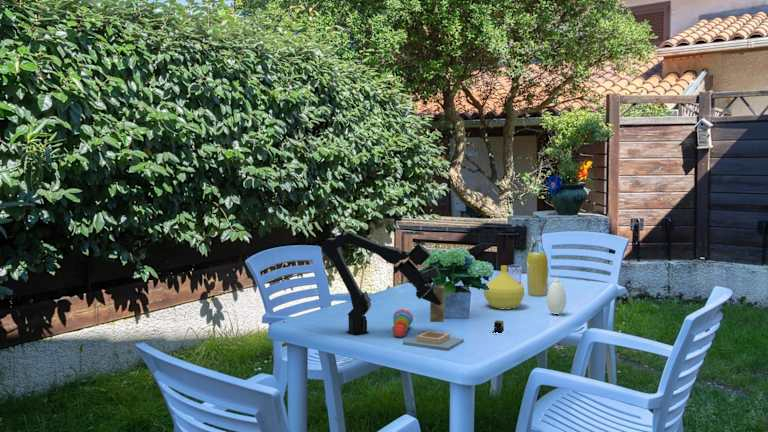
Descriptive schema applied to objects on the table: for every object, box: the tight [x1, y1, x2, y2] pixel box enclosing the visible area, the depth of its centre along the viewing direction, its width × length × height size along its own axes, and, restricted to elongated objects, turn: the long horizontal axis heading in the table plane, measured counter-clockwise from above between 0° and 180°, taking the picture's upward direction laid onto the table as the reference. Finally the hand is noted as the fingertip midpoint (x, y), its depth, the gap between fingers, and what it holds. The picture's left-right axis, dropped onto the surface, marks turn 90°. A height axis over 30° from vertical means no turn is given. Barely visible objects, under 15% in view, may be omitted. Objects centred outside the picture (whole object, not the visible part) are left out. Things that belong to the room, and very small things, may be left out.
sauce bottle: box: [546, 273, 567, 313], centre depth 292 cm, size 8×8×18 cm
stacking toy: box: [392, 307, 414, 338], centre depth 263 cm, size 8×8×19 cm
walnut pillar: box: [429, 285, 445, 323], centre depth 258 cm, size 5×5×13 cm
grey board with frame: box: [402, 330, 465, 351], centre depth 247 cm, size 18×14×3 cm
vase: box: [483, 264, 525, 309], centre depth 309 cm, size 18×18×19 cm
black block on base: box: [491, 320, 505, 333], centre depth 264 cm, size 12×7×5 cm, turn 159°
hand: (441, 303), depth 257 cm, fingers closed on walnut pillar, 5 cm apart
